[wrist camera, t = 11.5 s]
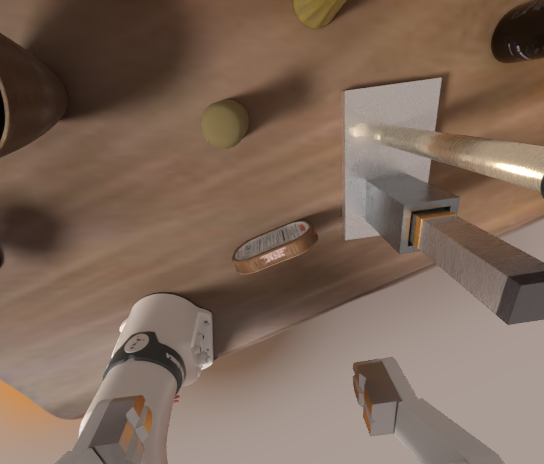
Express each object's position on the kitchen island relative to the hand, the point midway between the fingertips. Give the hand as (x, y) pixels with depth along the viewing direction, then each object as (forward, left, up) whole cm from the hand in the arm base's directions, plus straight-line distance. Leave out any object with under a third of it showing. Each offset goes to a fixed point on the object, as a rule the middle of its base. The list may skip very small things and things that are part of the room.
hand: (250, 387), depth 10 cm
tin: (-12, -2, -37) cm, 39 cm away
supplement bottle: (+14, -40, -37) cm, 56 cm away
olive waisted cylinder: (+8, +2, -37) cm, 38 cm away
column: (-7, -22, -29) cm, 37 cm away
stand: (-2, -22, -37) cm, 43 cm away
